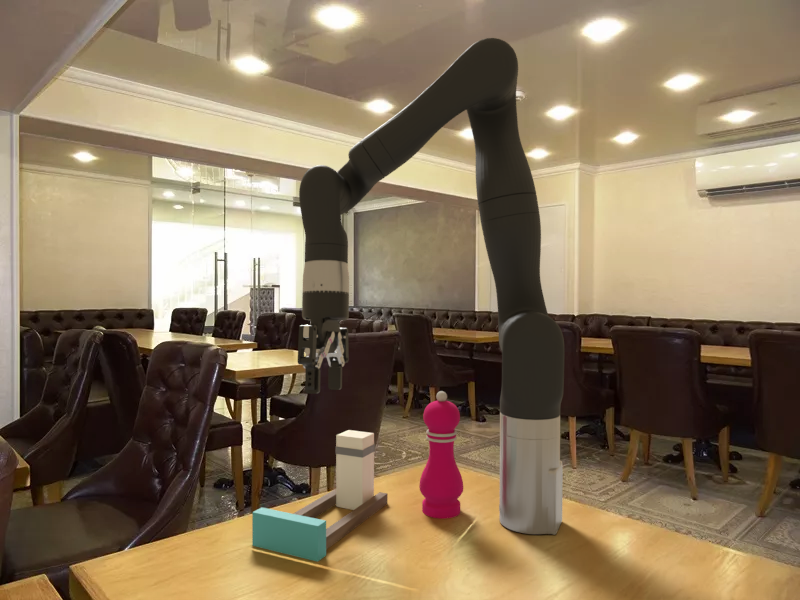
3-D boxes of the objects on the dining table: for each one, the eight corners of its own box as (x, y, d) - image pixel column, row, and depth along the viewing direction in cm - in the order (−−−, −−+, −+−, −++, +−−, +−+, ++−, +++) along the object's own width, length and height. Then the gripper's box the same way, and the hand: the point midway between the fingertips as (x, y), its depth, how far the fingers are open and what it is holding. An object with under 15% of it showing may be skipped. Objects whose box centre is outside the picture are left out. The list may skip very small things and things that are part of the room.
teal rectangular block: (326, 557, 76) (326, 520, 76) (317, 563, 74) (317, 526, 74) (261, 541, 81) (261, 507, 81) (252, 547, 79) (252, 512, 79)
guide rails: (387, 505, 95) (387, 493, 95) (314, 560, 75) (314, 545, 75) (341, 496, 99) (341, 485, 99) (259, 547, 79) (259, 533, 79)
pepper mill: (463, 505, 95) (463, 388, 95) (463, 522, 88) (464, 395, 88) (420, 503, 96) (421, 387, 96) (417, 520, 89) (418, 394, 88)
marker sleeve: (374, 503, 95) (374, 432, 95) (362, 511, 91) (362, 438, 91) (348, 498, 97) (348, 429, 97) (335, 506, 93) (335, 435, 93)
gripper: (328, 285, 83) (327, 395, 82) (363, 294, 97) (362, 388, 95) (283, 287, 85) (281, 394, 84) (323, 295, 99) (321, 387, 97)
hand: (324, 391), depth 90 cm, fingers open, 8 cm apart
